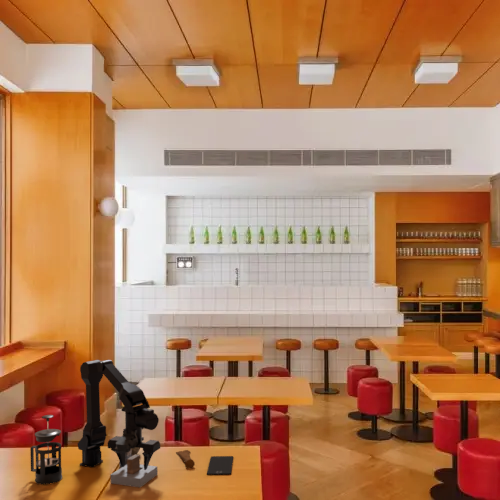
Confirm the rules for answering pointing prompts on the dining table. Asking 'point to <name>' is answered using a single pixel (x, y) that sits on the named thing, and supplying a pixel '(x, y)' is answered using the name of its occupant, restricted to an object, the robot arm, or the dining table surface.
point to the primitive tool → (186, 458)
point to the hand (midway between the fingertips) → (134, 468)
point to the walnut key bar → (133, 464)
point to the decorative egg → (134, 450)
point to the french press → (48, 465)
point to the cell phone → (220, 465)
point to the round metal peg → (126, 457)
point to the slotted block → (134, 476)
